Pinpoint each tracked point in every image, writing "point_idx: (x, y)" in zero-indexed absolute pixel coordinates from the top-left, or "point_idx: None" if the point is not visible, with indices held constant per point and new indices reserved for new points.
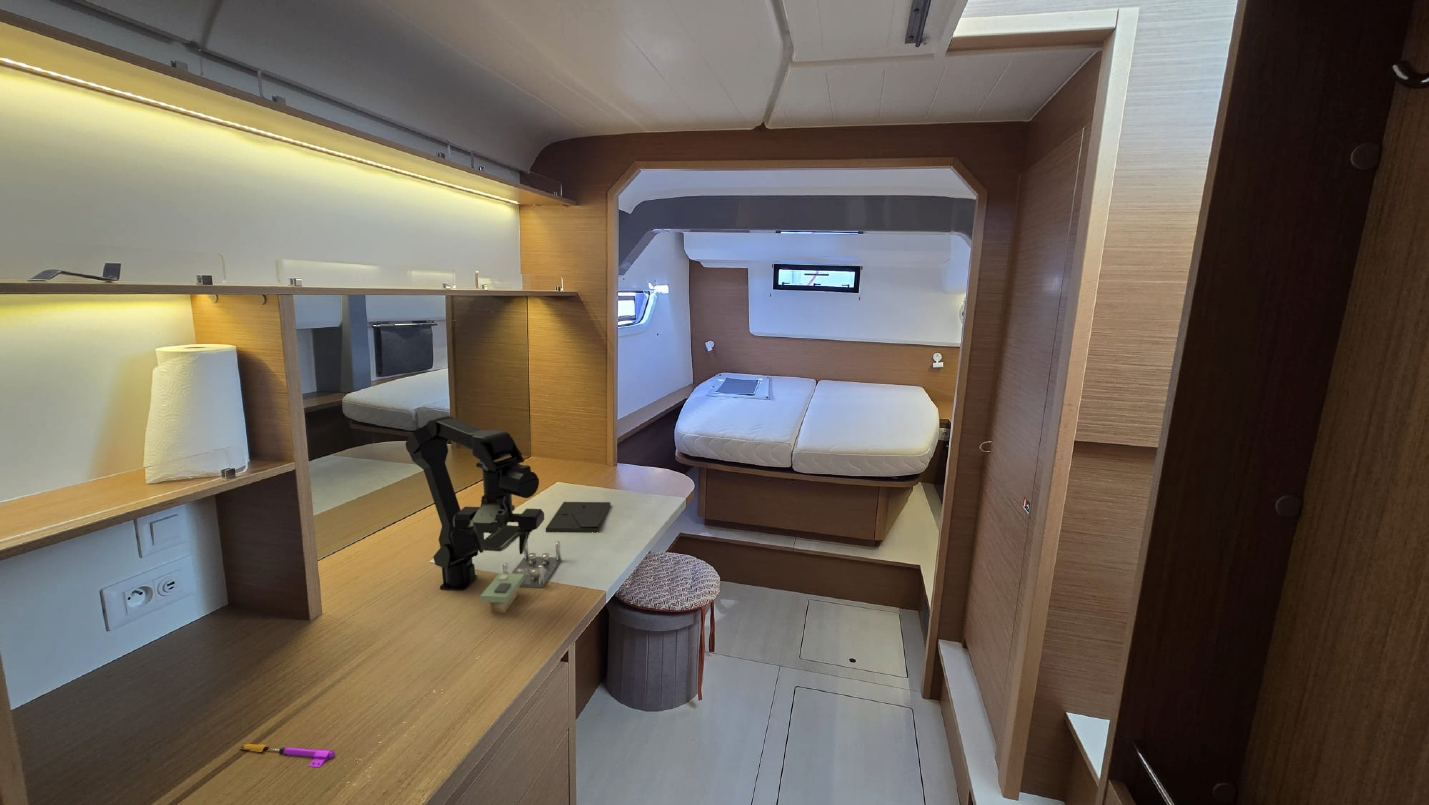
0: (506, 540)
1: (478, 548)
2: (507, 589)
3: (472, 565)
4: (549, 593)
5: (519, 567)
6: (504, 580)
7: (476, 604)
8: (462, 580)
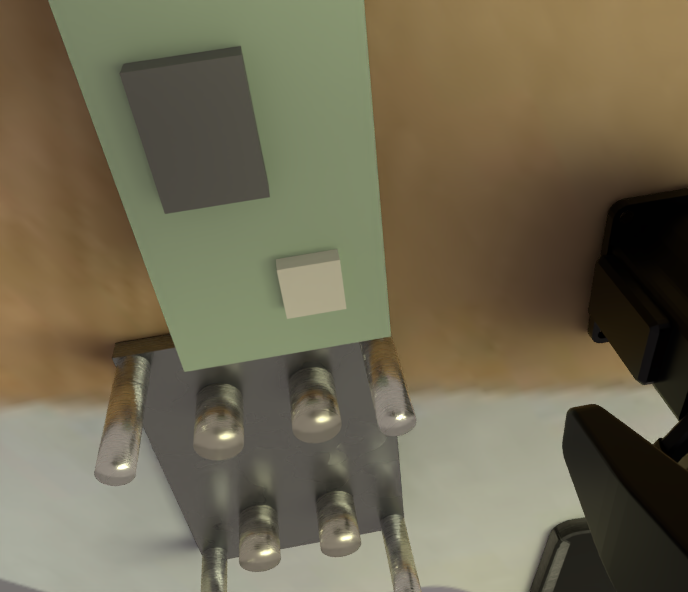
0: (560, 581)
1: (654, 457)
2: (143, 130)
3: (645, 367)
4: (25, 304)
5: (377, 452)
6: (284, 259)
7: (458, 67)
8: (661, 254)
